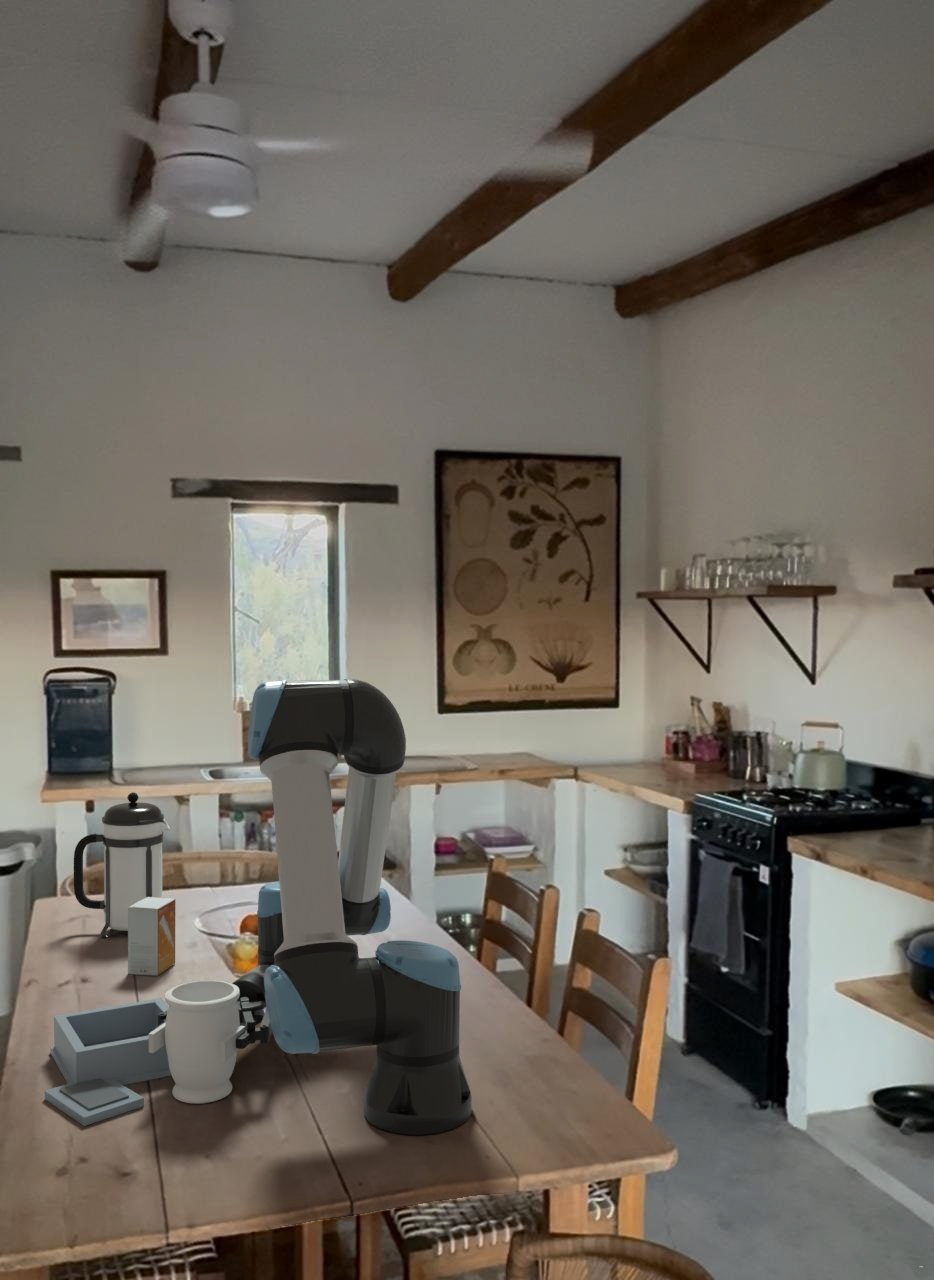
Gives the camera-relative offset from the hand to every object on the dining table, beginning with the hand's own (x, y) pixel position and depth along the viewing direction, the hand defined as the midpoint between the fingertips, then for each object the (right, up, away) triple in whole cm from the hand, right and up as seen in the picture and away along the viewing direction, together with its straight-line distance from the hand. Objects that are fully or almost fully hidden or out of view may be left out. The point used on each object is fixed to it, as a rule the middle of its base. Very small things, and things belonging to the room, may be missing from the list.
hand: (186, 1047), depth 165 cm
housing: (-14, -8, +16) cm, 23 cm away
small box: (-21, -6, +62) cm, 66 cm away
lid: (-14, -8, +2) cm, 16 cm away
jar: (+1, -8, +5) cm, 10 cm away
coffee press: (-34, -5, +87) cm, 93 cm away
